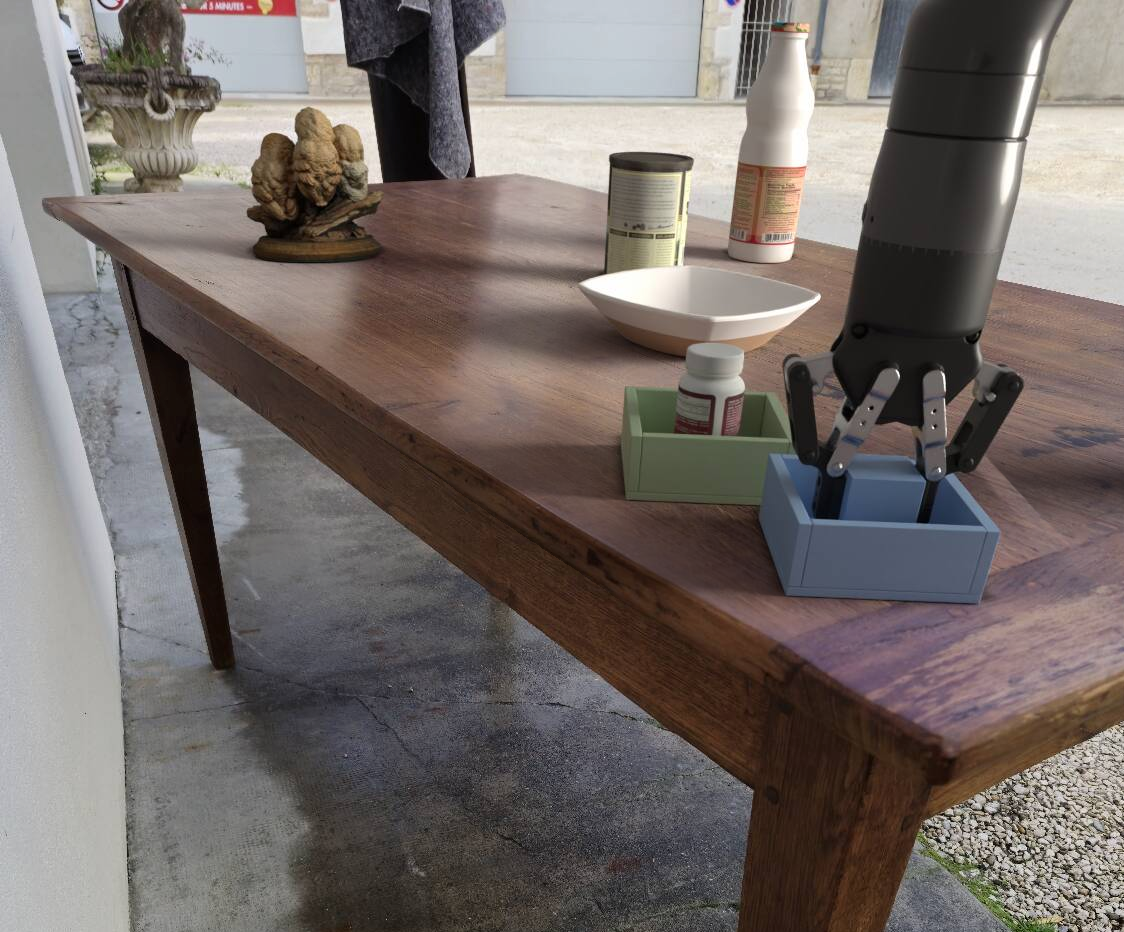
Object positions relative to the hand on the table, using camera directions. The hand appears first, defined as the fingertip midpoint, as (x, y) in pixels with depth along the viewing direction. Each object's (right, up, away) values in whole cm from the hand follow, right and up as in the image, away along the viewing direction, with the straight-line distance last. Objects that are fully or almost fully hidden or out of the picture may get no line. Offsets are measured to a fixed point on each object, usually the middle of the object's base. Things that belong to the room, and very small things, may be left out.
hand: (866, 529), depth 65 cm
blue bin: (0, -2, +1) cm, 2 cm away
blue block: (0, 0, 0) cm, 0 cm away
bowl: (-5, +29, +44) cm, 53 cm away
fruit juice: (+9, +57, +85) cm, 103 cm away
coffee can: (-9, +47, +69) cm, 84 cm away
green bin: (-9, +7, +13) cm, 17 cm away
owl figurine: (-52, +53, +75) cm, 105 cm away
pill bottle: (-9, +7, +12) cm, 17 cm away
